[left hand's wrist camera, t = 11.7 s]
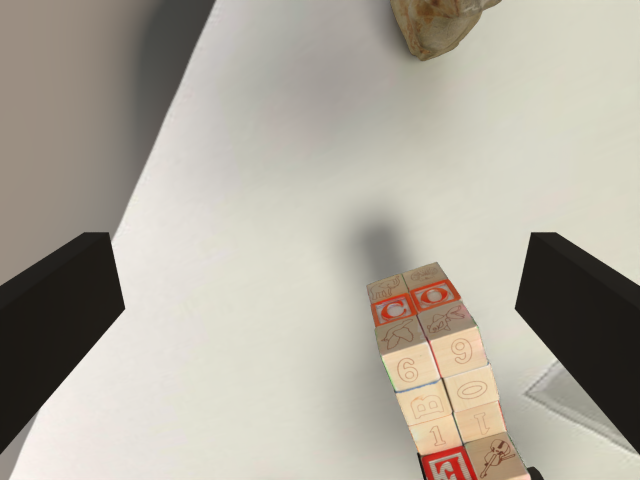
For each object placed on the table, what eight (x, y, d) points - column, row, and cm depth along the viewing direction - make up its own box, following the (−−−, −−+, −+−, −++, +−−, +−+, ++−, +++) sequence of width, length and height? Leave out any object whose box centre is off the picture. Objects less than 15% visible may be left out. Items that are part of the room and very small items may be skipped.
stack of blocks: (363, 283, 32) (388, 391, 21) (436, 258, 32) (505, 356, 20) (429, 459, 40) (474, 611, 28) (490, 443, 39) (563, 592, 27)
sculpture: (440, -38, 35) (521, -119, 21) (458, 47, 37) (540, 26, 23) (377, -13, 35) (415, -73, 22) (398, 69, 38) (444, 62, 24)
